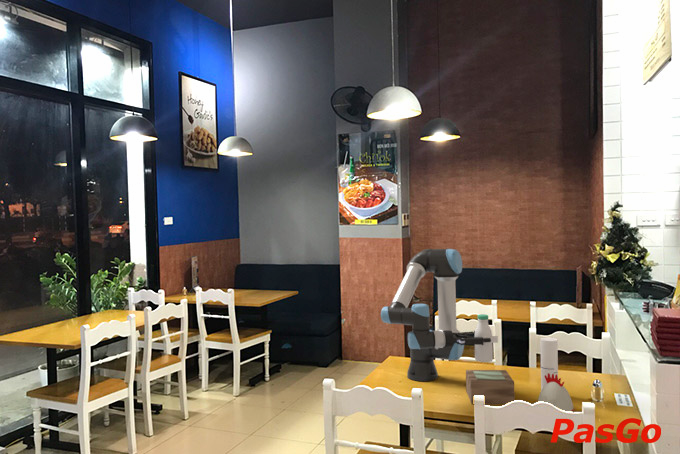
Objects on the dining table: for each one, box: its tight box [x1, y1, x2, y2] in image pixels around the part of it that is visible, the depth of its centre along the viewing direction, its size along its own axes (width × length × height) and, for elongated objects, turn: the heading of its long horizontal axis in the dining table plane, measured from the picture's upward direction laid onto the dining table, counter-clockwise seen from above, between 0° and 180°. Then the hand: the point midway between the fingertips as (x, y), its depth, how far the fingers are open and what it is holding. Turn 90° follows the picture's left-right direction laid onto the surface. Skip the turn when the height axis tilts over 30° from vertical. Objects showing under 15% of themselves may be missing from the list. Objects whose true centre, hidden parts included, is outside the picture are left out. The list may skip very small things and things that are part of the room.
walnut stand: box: [465, 369, 516, 405], centre depth 242 cm, size 18×18×10 cm
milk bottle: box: [474, 314, 494, 363], centre depth 241 cm, size 8×8×20 cm
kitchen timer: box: [537, 373, 574, 411], centre depth 225 cm, size 14×14×15 cm
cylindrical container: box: [539, 336, 559, 391], centre depth 243 cm, size 7×7×25 cm
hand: (494, 337), depth 241 cm, fingers closed on milk bottle, 7 cm apart
